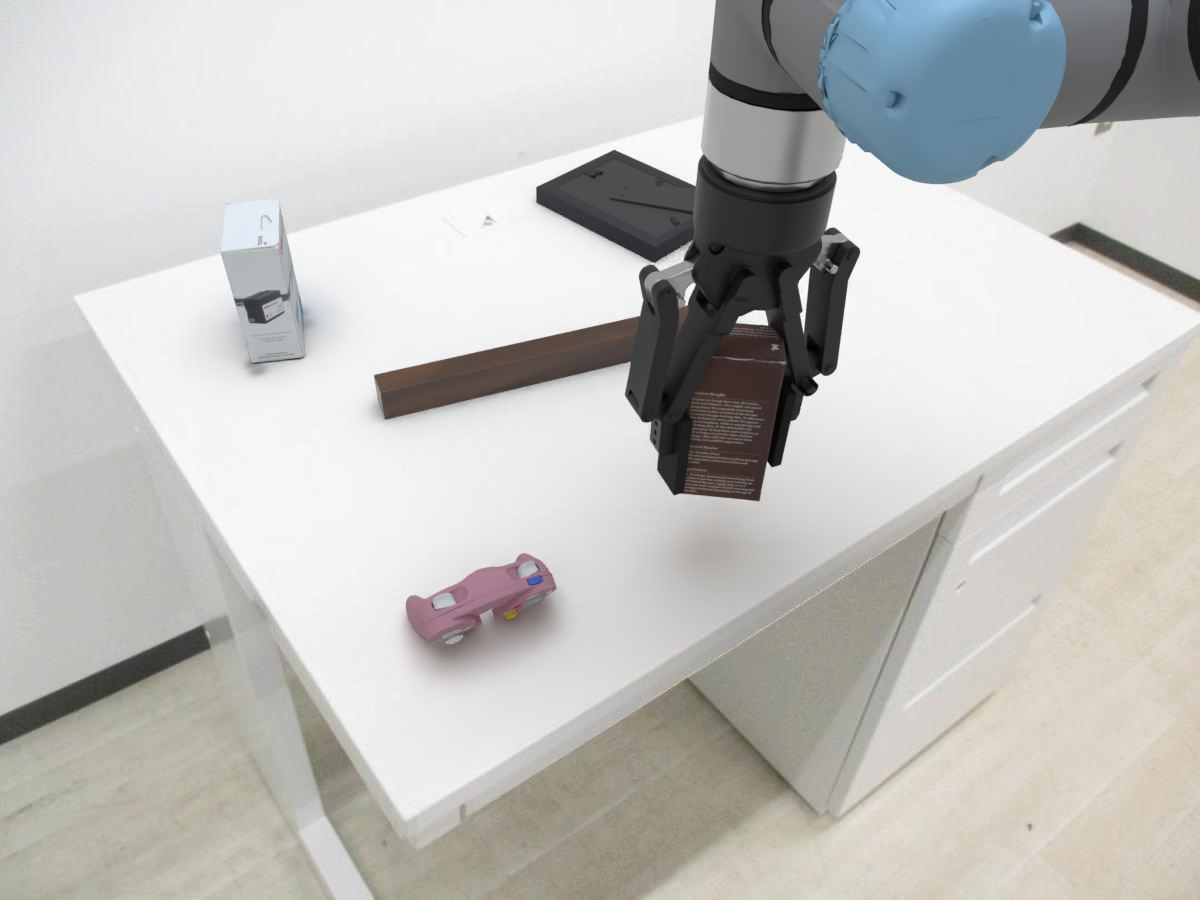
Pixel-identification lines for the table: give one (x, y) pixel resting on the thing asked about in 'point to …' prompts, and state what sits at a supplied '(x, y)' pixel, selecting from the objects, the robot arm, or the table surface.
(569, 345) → the straight edge
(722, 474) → the box
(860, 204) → the table surface
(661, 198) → the picture frame
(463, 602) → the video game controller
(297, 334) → the ink box
